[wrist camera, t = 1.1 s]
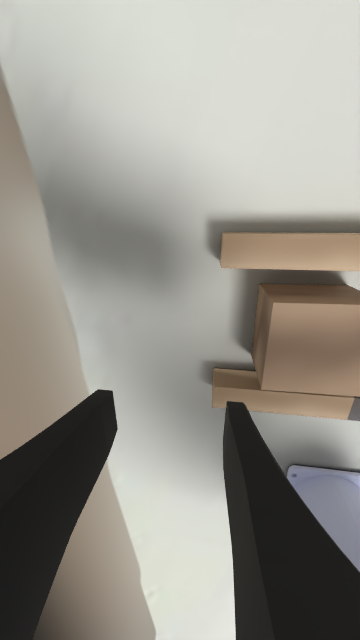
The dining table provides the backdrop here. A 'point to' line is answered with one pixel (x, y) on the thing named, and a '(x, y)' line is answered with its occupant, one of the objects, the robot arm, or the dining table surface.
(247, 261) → the trap lane
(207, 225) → the dining table surface
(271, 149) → the dining table surface
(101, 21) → the dining table surface
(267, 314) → the tan wooden block
